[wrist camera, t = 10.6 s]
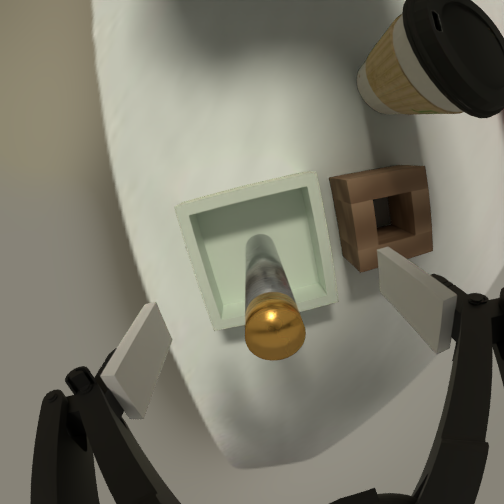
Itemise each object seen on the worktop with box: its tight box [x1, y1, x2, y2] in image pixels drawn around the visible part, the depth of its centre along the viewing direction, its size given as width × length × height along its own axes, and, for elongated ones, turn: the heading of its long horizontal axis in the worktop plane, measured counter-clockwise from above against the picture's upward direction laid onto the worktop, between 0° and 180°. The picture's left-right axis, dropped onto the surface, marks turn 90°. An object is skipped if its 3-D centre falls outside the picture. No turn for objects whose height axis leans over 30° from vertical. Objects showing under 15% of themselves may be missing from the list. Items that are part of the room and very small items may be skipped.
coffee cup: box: [357, 0, 504, 118], centre depth 16 cm, size 10×10×15 cm
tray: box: [174, 172, 339, 331], centre depth 26 cm, size 12×12×4 cm
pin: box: [245, 234, 306, 360], centre depth 20 cm, size 3×3×15 cm
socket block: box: [329, 165, 433, 273], centre depth 24 cm, size 8×8×5 cm
